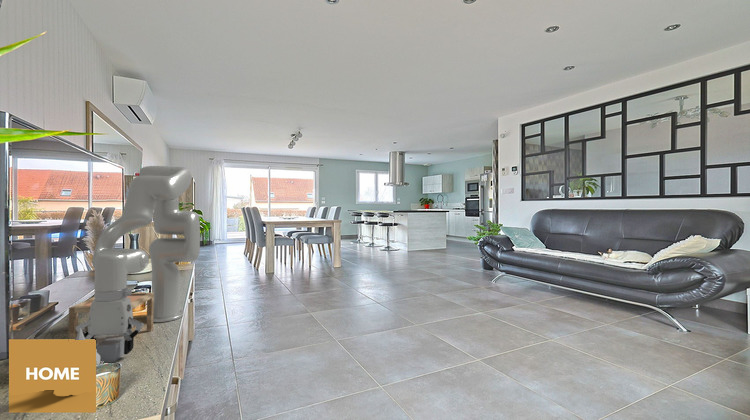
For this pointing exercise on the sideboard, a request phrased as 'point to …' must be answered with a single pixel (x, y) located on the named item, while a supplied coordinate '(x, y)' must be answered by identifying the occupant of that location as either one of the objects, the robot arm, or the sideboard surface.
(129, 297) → the trapdoor
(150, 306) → the frame
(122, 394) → the sideboard surface
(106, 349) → the grey cube
